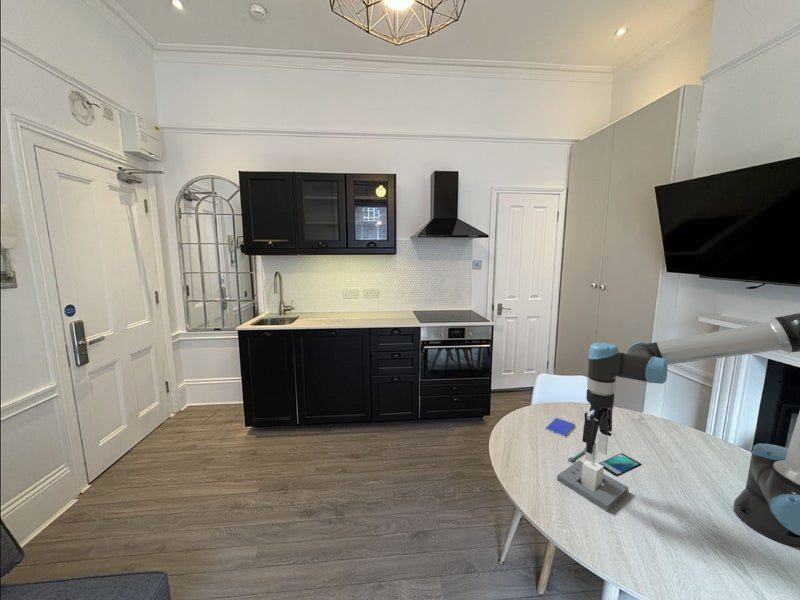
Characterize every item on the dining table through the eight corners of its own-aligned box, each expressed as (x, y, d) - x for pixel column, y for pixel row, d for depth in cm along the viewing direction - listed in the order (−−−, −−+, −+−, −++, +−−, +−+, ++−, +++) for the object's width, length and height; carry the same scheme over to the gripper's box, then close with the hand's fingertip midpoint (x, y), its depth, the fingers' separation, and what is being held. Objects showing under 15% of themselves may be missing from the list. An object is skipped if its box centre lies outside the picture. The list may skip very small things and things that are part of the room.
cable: (589, 450, 126) (589, 448, 126) (571, 462, 119) (571, 460, 119) (586, 448, 127) (586, 446, 127) (568, 460, 120) (568, 458, 120)
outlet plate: (627, 492, 104) (628, 486, 103) (607, 511, 96) (607, 505, 96) (578, 465, 117) (579, 459, 117) (557, 480, 110) (557, 474, 109)
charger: (601, 487, 106) (603, 465, 105) (594, 493, 104) (596, 470, 102) (587, 479, 110) (589, 458, 109) (580, 484, 108) (582, 462, 106)
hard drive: (556, 417, 149) (545, 427, 140) (574, 423, 143) (565, 435, 135) (555, 420, 149) (545, 430, 141) (574, 427, 143) (564, 438, 135)
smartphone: (596, 463, 117) (621, 452, 124) (596, 465, 118) (621, 454, 124) (616, 476, 111) (641, 463, 117) (616, 477, 111) (641, 465, 117)
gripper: (603, 380, 110) (599, 441, 113) (571, 394, 99) (568, 461, 103) (627, 387, 104) (622, 451, 107) (597, 403, 93) (592, 474, 96)
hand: (596, 456), depth 105 cm, fingers open, 7 cm apart
